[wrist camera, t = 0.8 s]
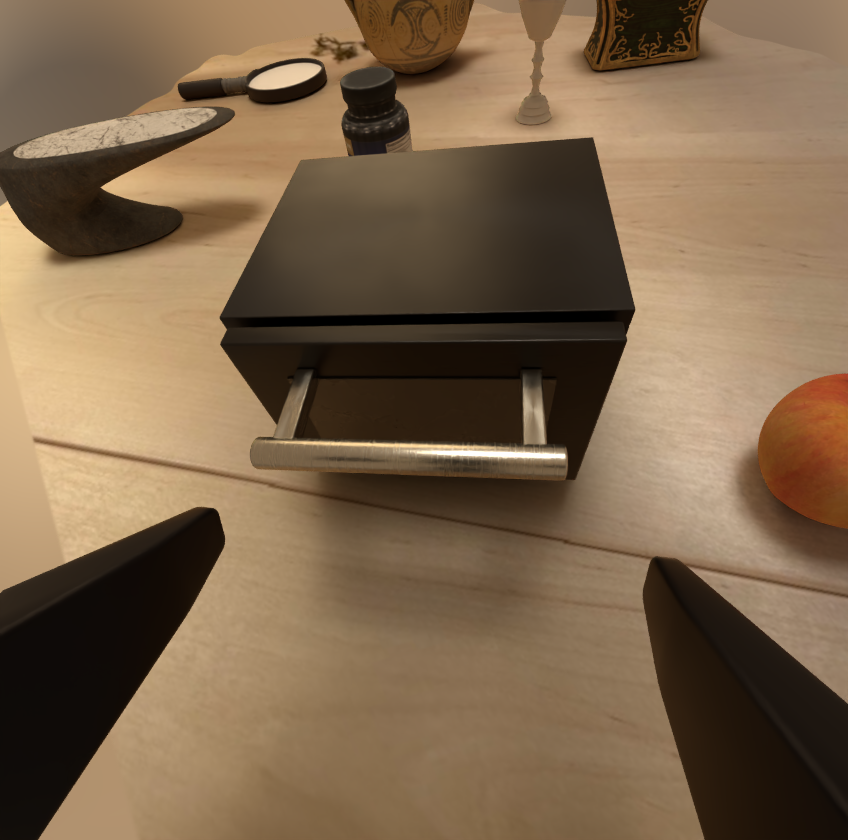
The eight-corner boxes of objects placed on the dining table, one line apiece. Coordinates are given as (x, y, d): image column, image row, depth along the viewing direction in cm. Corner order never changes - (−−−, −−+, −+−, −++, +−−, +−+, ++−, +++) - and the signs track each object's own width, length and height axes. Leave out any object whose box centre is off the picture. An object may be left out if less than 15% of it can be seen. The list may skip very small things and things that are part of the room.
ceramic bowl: (347, 100, 63) (313, -51, 51) (347, 60, 73) (318, -74, 60) (501, 72, 62) (504, -88, 50) (479, 35, 72) (478, -106, 60)
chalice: (569, 115, 52) (594, -71, 40) (533, 132, 51) (548, -55, 39) (533, 102, 55) (547, -74, 43) (498, 117, 54) (503, -60, 42)
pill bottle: (349, 209, 46) (316, 84, 37) (389, 182, 48) (367, 58, 39) (390, 227, 43) (365, 97, 34) (431, 197, 45) (417, 68, 36)
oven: (574, 477, 26) (635, 309, 15) (318, 468, 28) (218, 317, 18) (559, 324, 33) (593, 136, 23) (356, 327, 36) (300, 159, 25)
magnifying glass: (199, 84, 75) (192, 68, 73) (334, 68, 71) (330, 51, 69) (170, 116, 68) (161, 99, 66) (318, 100, 64) (313, 82, 62)
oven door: (584, 562, 21) (652, 452, 12) (288, 543, 23) (171, 439, 15) (574, 464, 24) (623, 319, 15) (312, 455, 26) (227, 326, 18)
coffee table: (41, 266, 47) (-47, 177, 39) (70, 221, 52) (-2, 134, 44) (268, 228, 46) (225, 129, 38) (276, 186, 51) (239, 91, 43)
